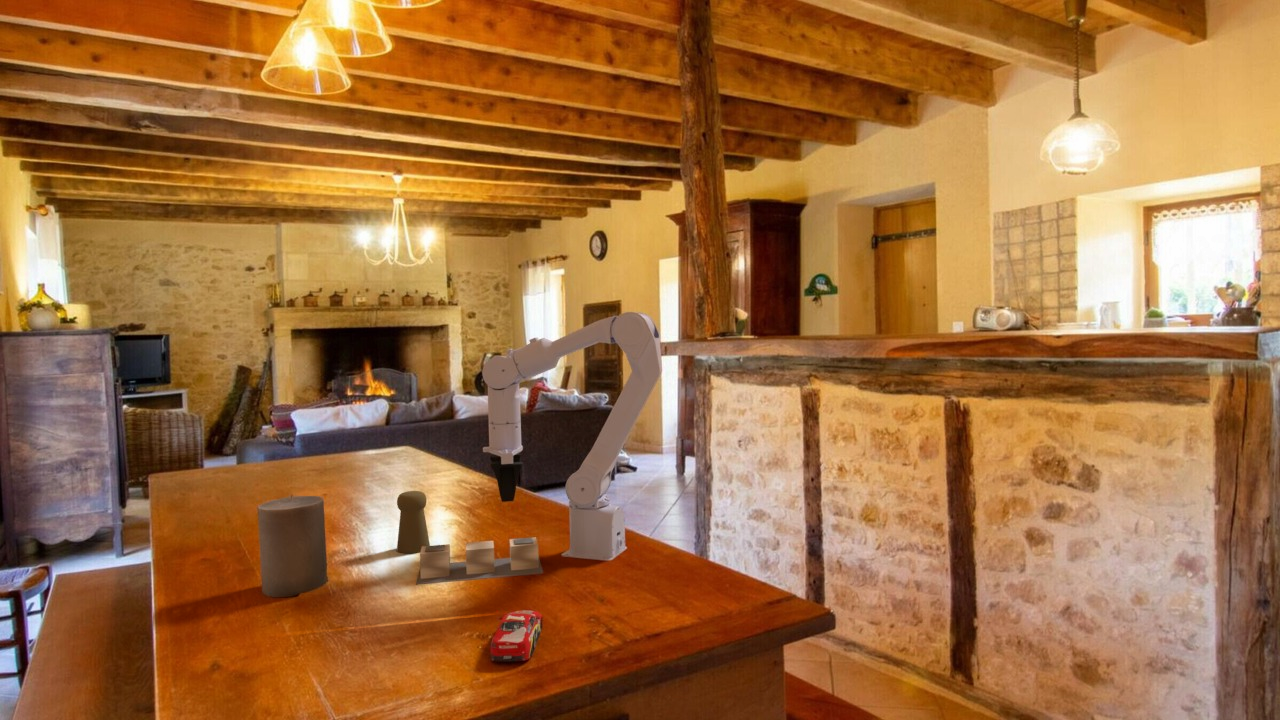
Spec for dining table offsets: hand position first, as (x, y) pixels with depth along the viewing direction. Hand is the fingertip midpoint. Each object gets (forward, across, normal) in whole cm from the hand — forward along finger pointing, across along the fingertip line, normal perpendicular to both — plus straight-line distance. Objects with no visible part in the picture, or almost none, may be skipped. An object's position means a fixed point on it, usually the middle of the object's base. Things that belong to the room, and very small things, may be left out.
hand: (506, 497), depth 137 cm
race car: (+10, +41, 0) cm, 43 cm away
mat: (+10, +10, -5) cm, 15 cm away
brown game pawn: (+10, -5, -17) cm, 20 cm away
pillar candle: (+10, +10, -34) cm, 37 cm away
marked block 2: (+10, +10, +2) cm, 14 cm away
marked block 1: (+10, +10, -12) cm, 19 cm away
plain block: (+10, +10, -5) cm, 15 cm away
